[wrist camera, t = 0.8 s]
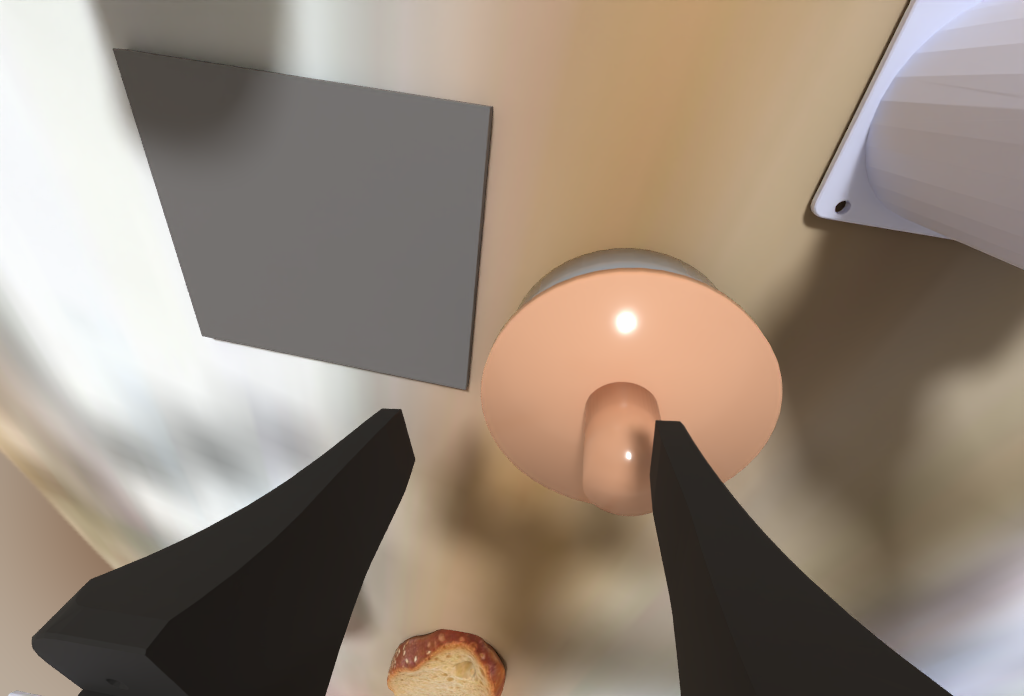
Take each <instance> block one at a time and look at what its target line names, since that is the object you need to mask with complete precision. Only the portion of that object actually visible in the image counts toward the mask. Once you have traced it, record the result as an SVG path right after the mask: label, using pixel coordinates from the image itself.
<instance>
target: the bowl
mask: <svg viewBox="0 0 1024 696" xmlns="http://www.w3.org/2000/svg"><path fill="white" fill-rule="evenodd" d="M615 268H648V269H656V270H664V271H668V272H673V273H677V274H681V275H685V276H688V277H690V278H693V279H695V280H698V281H701V282H703V283H706V284H707V285H709V286H711V287H713V288H715V289H716V290H718V289H717V288H716V287H715V286H714V285H713V284H712V283H711V282H710V281H709V280H708V279H707V277H705V276H704V275H703V274H701V273H700V272H699V271H698V270H696V269H695V268H693V267H692V266H690V265H688V264H686V263H685V262H683V261H681V260H679V259H676V258H674V257H671V256H668V255H666V254H662V253H658V252H654V251H650V250H643V249H634V248H621V249H609V250H601V251H596V252H593V253H589V254H585V255H582V256H579V257H577V258H574V259H572V260H569V261H567V262H565V263H564V264H562V265H560V266H558V267H557V268H555V269H553V270H552V271H551V272H549V273H548V274H547V275H545V276H544V277H543V278H542V279H541V280H540V281H539V282H537V283H536V284H535V285H534V286H533V287H532V289H531V290H530V291H529V292H528V294H527V295H526V296H525V298H524V299H523V301H522V303H521V304H520V306H519V308H518V310H519V309H520V308H521V307H522V306H523V305H524V304H525V303H527V302H528V301H529V300H531V299H532V298H533V297H535V296H536V295H538V294H539V293H541V292H542V291H544V290H546V289H548V288H550V287H552V286H553V285H555V284H557V283H560V282H562V281H565V280H567V279H570V278H573V277H575V276H579V275H582V274H586V273H590V272H594V271H599V270H607V269H615ZM518 310H517V311H518Z"/></svg>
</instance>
